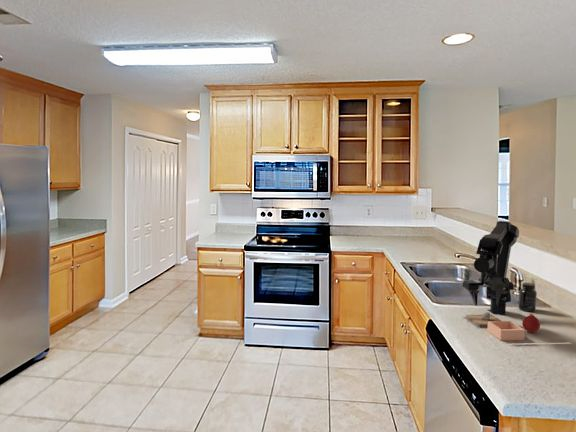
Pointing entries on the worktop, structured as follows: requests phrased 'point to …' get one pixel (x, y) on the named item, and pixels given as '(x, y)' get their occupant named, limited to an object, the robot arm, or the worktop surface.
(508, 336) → the terracotta dish
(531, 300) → the supplement bottle
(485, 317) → the walnut lid
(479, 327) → the rubber mat
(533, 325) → the onion
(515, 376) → the worktop surface
